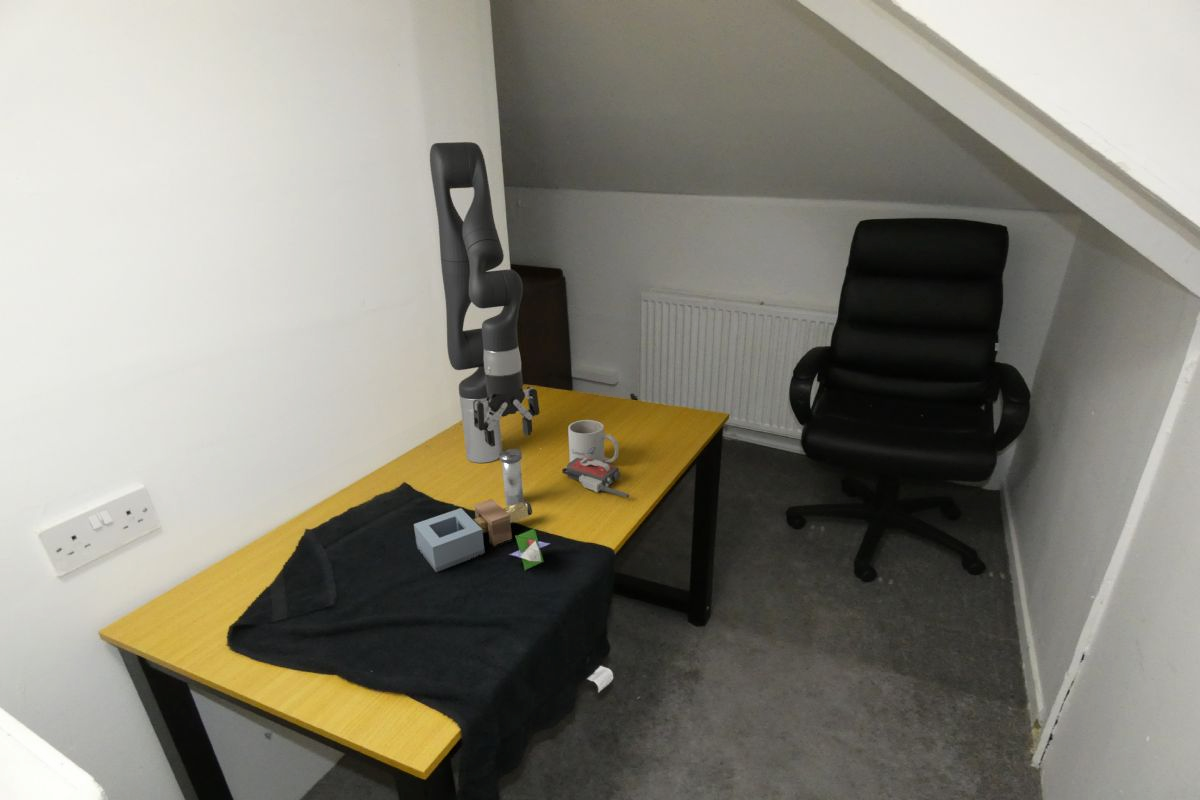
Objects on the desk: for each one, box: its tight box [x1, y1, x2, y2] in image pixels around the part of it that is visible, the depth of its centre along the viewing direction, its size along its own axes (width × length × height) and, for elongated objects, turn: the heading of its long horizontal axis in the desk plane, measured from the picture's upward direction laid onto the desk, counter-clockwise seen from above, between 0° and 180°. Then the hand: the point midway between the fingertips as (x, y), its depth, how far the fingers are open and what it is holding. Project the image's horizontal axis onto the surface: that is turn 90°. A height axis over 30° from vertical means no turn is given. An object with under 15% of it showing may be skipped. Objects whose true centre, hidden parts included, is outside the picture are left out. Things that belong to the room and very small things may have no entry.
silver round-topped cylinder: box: [499, 448, 525, 507], centre depth 144 cm, size 5×5×12 cm
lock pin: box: [473, 500, 533, 534], centre depth 135 cm, size 3×12×3 cm, turn 125°
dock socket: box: [413, 507, 486, 573], centre depth 129 cm, size 10×10×6 cm
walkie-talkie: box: [561, 458, 630, 499], centre depth 152 cm, size 9×4×20 cm
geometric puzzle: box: [508, 527, 551, 571], centre depth 124 cm, size 7×7×8 cm
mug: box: [567, 419, 620, 464], centre depth 160 cm, size 12×9×10 cm
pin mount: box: [473, 498, 513, 547], centre depth 134 cm, size 8×4×6 cm, turn 35°
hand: (509, 440), depth 141 cm, fingers open, 8 cm apart
